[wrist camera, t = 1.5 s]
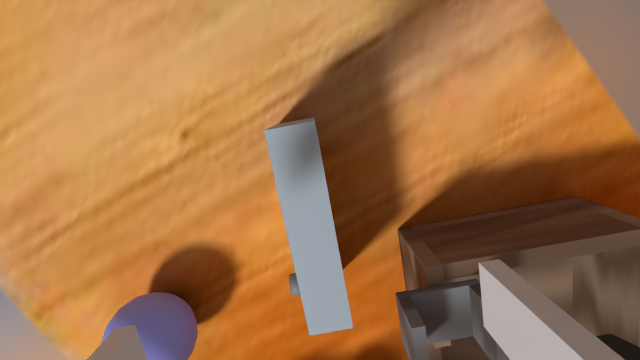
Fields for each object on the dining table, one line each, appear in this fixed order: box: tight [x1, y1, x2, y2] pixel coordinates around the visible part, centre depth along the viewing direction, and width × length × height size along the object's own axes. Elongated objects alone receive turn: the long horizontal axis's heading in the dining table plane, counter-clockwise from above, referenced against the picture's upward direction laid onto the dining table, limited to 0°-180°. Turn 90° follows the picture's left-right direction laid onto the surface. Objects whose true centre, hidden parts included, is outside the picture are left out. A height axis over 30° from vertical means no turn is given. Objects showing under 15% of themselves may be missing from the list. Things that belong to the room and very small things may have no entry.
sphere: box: [102, 292, 197, 360], centre depth 26 cm, size 7×7×7 cm
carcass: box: [396, 197, 640, 360], centre depth 25 cm, size 20×18×11 cm
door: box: [264, 117, 353, 335], centre depth 24 cm, size 14×4×8 cm, turn 10°
